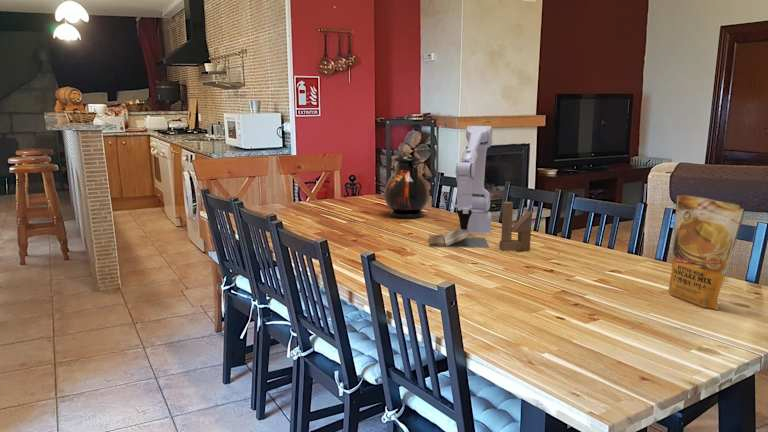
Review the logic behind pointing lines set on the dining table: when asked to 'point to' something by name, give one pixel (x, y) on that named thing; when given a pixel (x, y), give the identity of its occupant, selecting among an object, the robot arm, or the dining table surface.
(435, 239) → the laid plank
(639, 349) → the dining table surface
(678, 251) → the pancake mix bag
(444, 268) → the dining table surface
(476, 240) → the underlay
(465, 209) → the robot arm
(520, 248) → the brown wooden upright frame
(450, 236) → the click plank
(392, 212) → the amphora vase
